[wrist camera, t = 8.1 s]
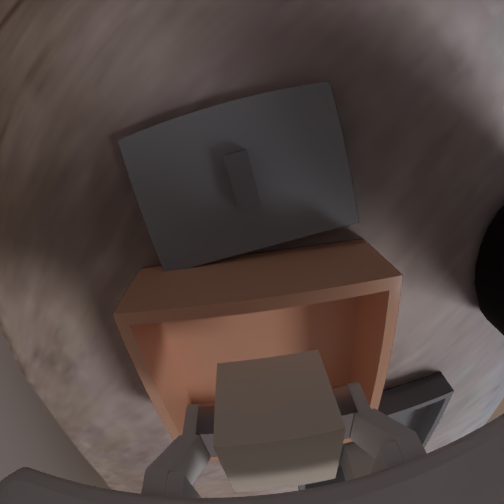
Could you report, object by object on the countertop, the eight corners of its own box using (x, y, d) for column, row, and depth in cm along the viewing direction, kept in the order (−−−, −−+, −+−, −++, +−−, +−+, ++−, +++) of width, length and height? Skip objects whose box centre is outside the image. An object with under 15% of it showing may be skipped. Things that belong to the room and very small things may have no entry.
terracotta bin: (140, 268, 15) (112, 313, 11) (363, 238, 15) (402, 275, 11) (191, 412, 20) (186, 461, 16) (351, 391, 20) (369, 436, 16)
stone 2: (344, 445, 22) (355, 480, 18) (384, 434, 22) (398, 466, 18) (340, 463, 24) (349, 494, 20) (377, 453, 24) (388, 483, 20)
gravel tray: (293, 410, 20) (298, 436, 18) (440, 371, 20) (453, 390, 18) (295, 473, 25) (299, 492, 22) (409, 443, 25) (416, 459, 22)
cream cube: (217, 363, 11) (213, 446, 8) (317, 349, 11) (345, 428, 8) (233, 421, 13) (235, 492, 9) (317, 409, 13) (335, 478, 9)
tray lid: (123, 139, 13) (111, 140, 11) (324, 83, 12) (334, 77, 11) (168, 268, 16) (161, 281, 14) (353, 217, 15) (365, 226, 14)
